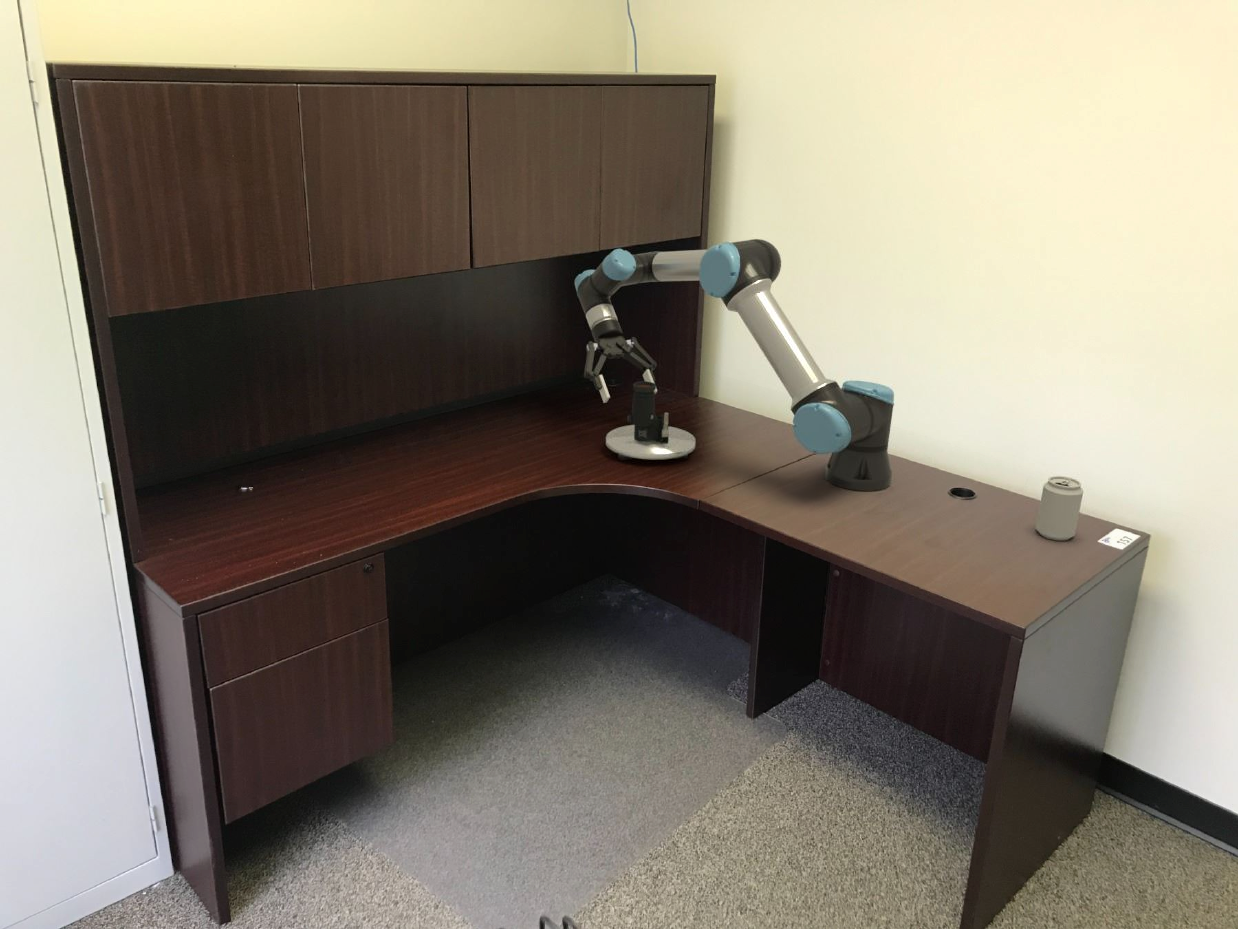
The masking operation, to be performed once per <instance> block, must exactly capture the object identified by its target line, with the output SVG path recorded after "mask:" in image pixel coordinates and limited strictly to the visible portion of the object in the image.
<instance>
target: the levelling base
mask: <svg viewBox="0 0 1238 929" xmlns="http://www.w3.org/2000/svg"><path fill="white" fill-rule="evenodd" d="M634 428H635V425H634V424H631V425H624V426H620V427H616V428H615V429H612V430H610V431H609V432H608V433H607V434H606V436H605V445H606V447H607V448H608V449H609V450H610V451H612V452H613V453H616V454H618V459H619V460H621V461H630V460H632V458H633V459H640V460H641V459H642V460H670V459H678V460H679V459H680V460H682V459H683V460H685V459H687V458H688V455H689V454H691V453H692V452H693V451H694V450H695V448H696V437H695V436H694V435H693V434H691V433H690V432H689V431H687V430H683V429H681V428H678V427H673V426H670V425H669V427H668V430H669V437H668V443H667V442H663V443H661V440H660V441H637V440H635V439H634Z"/></svg>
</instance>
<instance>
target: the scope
mask: <svg viewBox="0 0 1238 929" xmlns="http://www.w3.org/2000/svg"><path fill="white" fill-rule="evenodd" d="M654 383H655V382H654ZM654 383H652V382H646V381H645V380H644V381H642V380H641V381H636V382H634V383H633V384H632V389H633V393H632V406H631V413H627V416H626V421H627V422H628V423H629V424H631V423H632V425H635V428H634V439H635V440H637V441H660V440H661V443H663V442H667V443H668V437H669V430H668V427H669V426H670V420H669V412H664V414H660V415H656V407H655V406H656V397H655V396H656V394H655V392H654V390H655V389H657V386H656V383H655V384H654Z"/></svg>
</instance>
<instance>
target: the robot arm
mask: <svg viewBox="0 0 1238 929" xmlns="http://www.w3.org/2000/svg"><path fill="white" fill-rule="evenodd" d="M781 269H782V259H781V254H780V253H779V251H778V249H777V247H776V246H775V245H774V244H772V243H771V242H769V241H767V240H765V239H759V238H754V239H753V238H752V239H746V240H740V241H732V242H729V241H725V242H722V243H719V244H714V245H712V246H711V247H709V248H708V249H695V250H690V249H689V250H675V251H648V252H644V253H643V252H642V253H637V254H631V252H629V251H628V250H624V249H622V248H616V249H614V250H613V251H611V252H610V253H609V254H608V255H606V256H605V258H604V259H603V261H601V263H600V264H599V266H597V268H596V269H587V270H584V271H583V272H582V273H580V274H578V275H577V276H576V277H575V279H574V287H575V290H576V295H577V298H578V299H579V303H580V304H581V307H582V310H583V312H584V316H585V318H586V320H587V324H588V326H589V328H590V331H591V335H592V337H593V340H594V342H593V341H589V342H588V344H586V347H585V350H586V351H585V352H586V360H585V366H584V372H583V378H584V379H589V381H590V382H593V385H594V387H595V390H596V391H599V393H600V397H601V399H602V401H603V404H604V403H607V402H608V401H609V399H610V398H611V396H610V393H609V390H608V387H607V385H606V382H605V379H604V376H603V374H600V371H601V370H602V368H603V366H604V363H605V362H606V360H607V359H609V360H613V359H620V358H621V359H623V360H626V361H628V362H629V363H630V364H632V365H633V366H635V367H636V368H638V369H639V370H640V371H642V373H643V374H642V377H643V380H644V381H646V382H652V383H654V384H655V385H656V383H655V382H656V376H655V375H654V374H655V373H654V372H653V371H654V370H655V369H656V368H657V367H658V364H657V362H656V361H655V360H654V359H653V358H652V357H651V356H650V354H648V353H647V351H646V350H644V348H643V347H642V346H641V345H640V343H638V341H637V338H636V337H635V336H633V337H631V339H627V340H626V339H625V337H624V334H623V331H622V328H621V325H620V322H619V320H618V317H617V314H616V312H615V309H614V305H613V304H612V301H611V297H612V296H613V295H614V294H615V293H616V292H617V291H618V290H619V289H620V288H621V287H624V286H625V287H626V286H630V285H637V284H642V283H651V282H653V283H656V282H657V283H658V282H683V281H684V282H688V281H691V282H692V281H697V282H698V281H699V283H700V285H701V289H703V291H704V292H705V293H706V294H707V295H708V296H710V297H713V298H716V299H721V301H722V303H723V304H724V306H725V308H726V309H727V310H728V311H730V312H734V313H738V315H739V317H740V319H741V320H742V322H743V323H744V325H745V327H746V328H747V330H748V331H749V332H750V334H751V336H752V338H753V339H754V340H755V343H756V344H757V345H758V347H759V348H760V350H761V352H762V353H763V355H764V357H765V358H766V360H767V361H768V363H769V365H770V366H771V367H772V370H774V372H775V374H776V376H777V377H778V379H779V380H780V381H781V383H782V385H783V387H784V388H785V390H786V391H787V393H788V395H789V396H790V398H791V400H792V401H791V405H790V411H791V412H792V414H793V419H792V423H793V427H792V431H793V434H794V437H795V438H796V440H797V441H798V443H799V444H800V446H802V447H803V448H804V449H805V450H806V451H808V452H810V453H813V454H817V455H829V454H831V455H830V458H828V459H829V460H828V462H827V463H826V466H825V472H824V477H825V479H826V481H827V482H829V483H831V484H832V485H835V486H837V487H839V488H844V489H848V490H854V491H860V492H861V491H862V492H863V491H864V492H865V491H866V492H867V491H869V492H873V491H880V490H884V489H887V488H889V486H891V485H892V479H893V472H892V468H891V462H890V457H889V452H888V448H889V443H890V442H889V441H890V434H891V433H890V432H891V426H892V418H893V411H894V406H895V402H894V400H895V399H894V398H895V393H894V391H893V389H892V388H890V387H889V386H886V385H884V384H881V383H875V382H872V381H871V382H870V381H863V380H845V381H844V382H843V383H842V386H841V387H840V385H839V384H838V382H837V381H836V380H834V379H829V378H827V377H826V376H825V375H824V373H823V371H822V370H821V368H820V366H819V365H818V364H817V362H816V360H815V359H814V357H813V356H812V355H811V352H810V351H809V350H808V348H807V347H806V345H805V343H804V342H803V340H802V339H801V337H800V336H799V334H798V333H797V330H796V329H795V328H794V327H793V325H792V323H791V321H790V320H789V318H788V317H787V315H786V314H785V312H784V310H782V309H783V308H781V306H780V305H779V303H778V302H777V300H776V298H775V296H773V293H772V291H771V289H772V284H773V283H774V282H775V281H776V280H777V278H778V277H779V274H780V272H781ZM596 350H597V351H598V352H599V353H601V354H600V357H599V360H598V362H596V366H595V367H594V369H593V364H594V357H595V353H596ZM654 392H655V395H656V394H657V393H658V388H656V389H655V390H654Z"/></svg>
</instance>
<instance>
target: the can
mask: <svg viewBox="0 0 1238 929" xmlns="http://www.w3.org/2000/svg"><path fill="white" fill-rule="evenodd" d="M1081 486H1082V483H1081V481H1079V480H1077V479H1076V478H1073V477H1069V476H1061V475H1054V476H1051V477H1048V479H1047V482H1045V483H1044V484H1043V486H1042V487H1043V488H1042V493H1041V497H1040V502H1039V503H1040V504H1039V509H1038V513H1037V514H1038V515H1037V518H1036V519H1037V520H1036V524H1035V530H1037V531H1038V532H1039V534H1040V535H1041V536H1042V537H1044V538H1046V539H1050V540H1053V541H1067V540H1069V539H1071V538H1073V537H1074V536H1075V535H1076V531H1077V524H1078V520H1079V516H1080V510H1081V506H1082V500H1083V494H1084V490H1083V488H1082V487H1081Z"/></svg>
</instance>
